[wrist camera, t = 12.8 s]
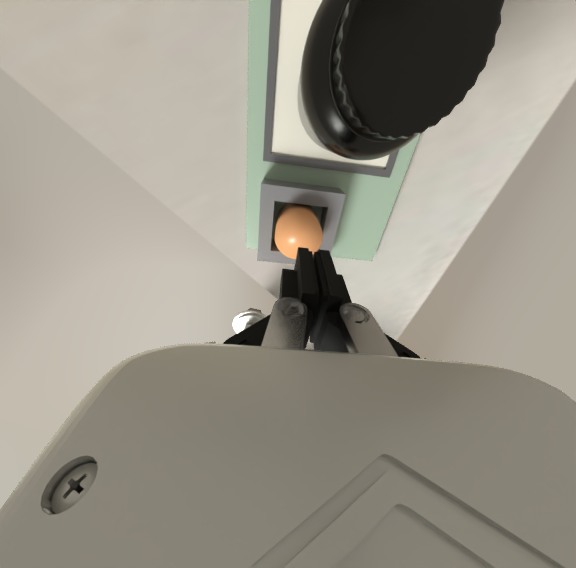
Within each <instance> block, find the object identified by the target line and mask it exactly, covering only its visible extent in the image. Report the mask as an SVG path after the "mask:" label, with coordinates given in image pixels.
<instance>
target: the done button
mask: <svg viewBox="0 0 576 568" xmlns="http://www.w3.org/2000/svg"><path fill="white" fill-rule="evenodd" d="M322 239H323V233H322V229H321V226H320V223H319V221H318V218H317V215H316V213H315V211H314V209H313V208H312V207H311V206H310V205H304V204H296V203H288V204H286V205H285V206H284V207H282V209H281V210H280V211H279V213H278V216H277V221H276V230H275V243H276V246H277V248H278V249H279V251H280V252H281V253H282V254H283V255H285V256H286V257H289V258H291V259H296V257H297V250H298V247H302V248H308V249H309V251H312V254H314V252H316V251H317V250H318V249H319V247H320V246H321V243H322Z"/></svg>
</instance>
